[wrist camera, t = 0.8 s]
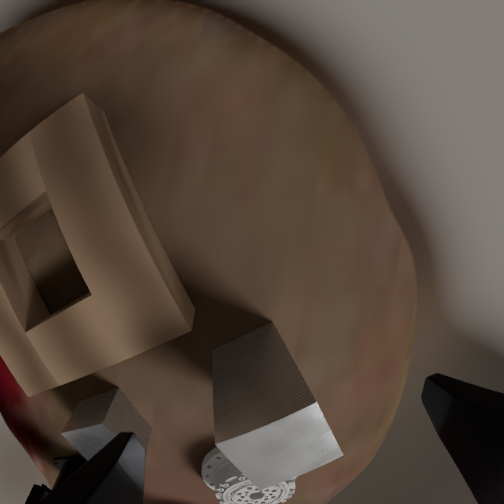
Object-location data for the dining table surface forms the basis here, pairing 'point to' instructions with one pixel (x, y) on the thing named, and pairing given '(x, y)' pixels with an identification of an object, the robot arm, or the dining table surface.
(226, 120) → the dining table surface
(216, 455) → the mechanical component
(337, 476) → the dining table surface
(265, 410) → the grey tall rectangular block
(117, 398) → the grey cube
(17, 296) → the hole block
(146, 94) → the dining table surface
